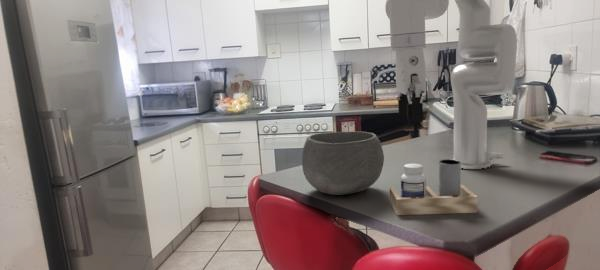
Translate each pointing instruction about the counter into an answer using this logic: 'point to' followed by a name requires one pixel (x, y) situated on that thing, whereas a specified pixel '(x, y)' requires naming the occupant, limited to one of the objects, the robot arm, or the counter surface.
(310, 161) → the bowl
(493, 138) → the counter surface
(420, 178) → the pill bottle
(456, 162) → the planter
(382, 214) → the counter surface
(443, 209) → the slot rack
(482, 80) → the robot arm
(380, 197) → the counter surface
